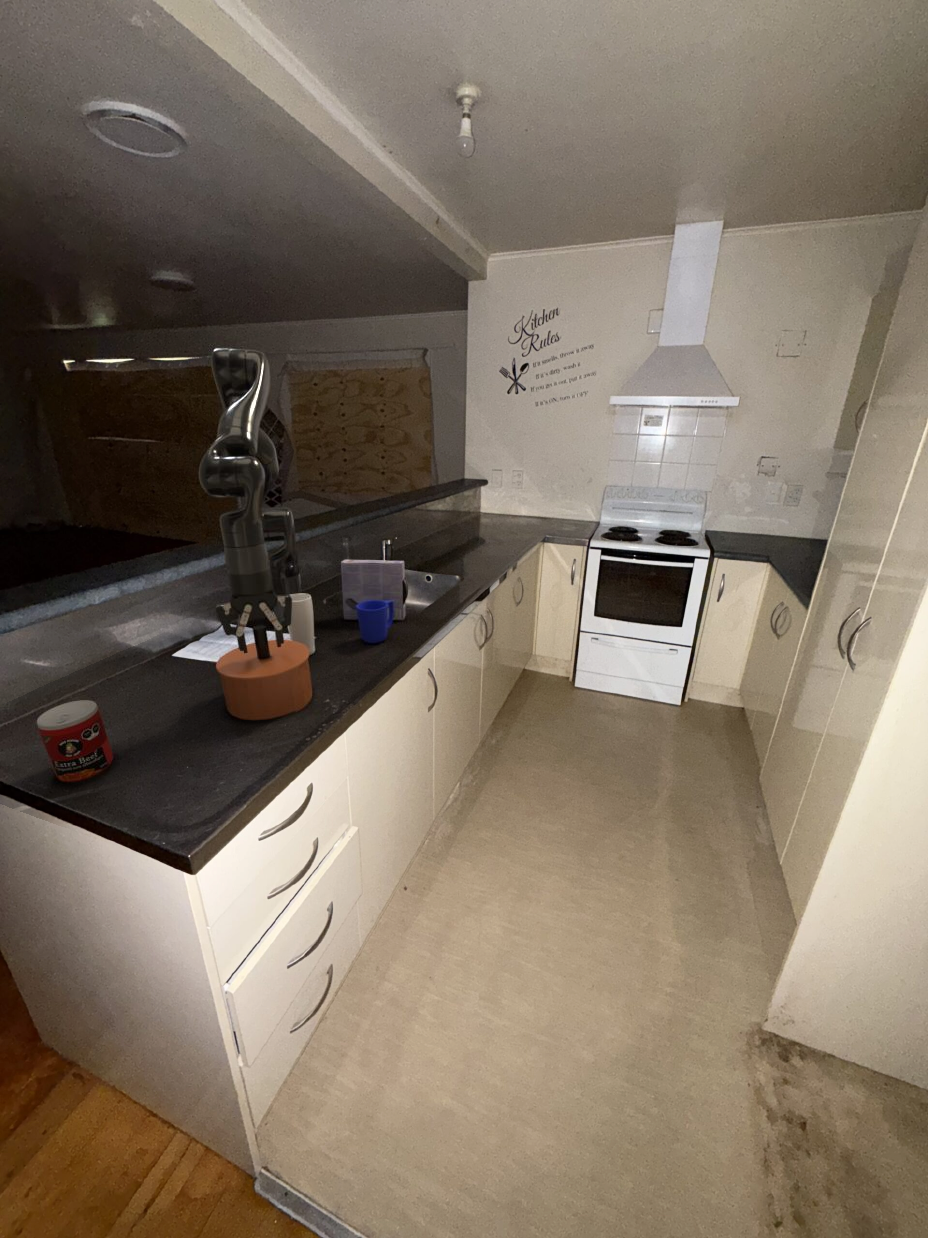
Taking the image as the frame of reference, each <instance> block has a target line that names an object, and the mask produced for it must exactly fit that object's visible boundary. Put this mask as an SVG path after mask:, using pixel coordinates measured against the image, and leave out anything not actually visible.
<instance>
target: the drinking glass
mask: <svg viewBox="0 0 928 1238" xmlns="http://www.w3.org/2000/svg"><path fill="white" fill-rule="evenodd" d="M290 596H291V598H292V614H291V624H290V625H289V626H287V630H288V634H289V639H290V641H296V642H299V643H302V644H304V645H306V646H307V647H308V649H309V652H310V655H309V656H312V655H313V654H315V652H316V645H315V644H316V643H315V620H314V619H315V618H314V614H315V613H314V605H313V599H312V596H311V594H309V593H304V592H302V593H297V594H291V595H290Z"/></svg>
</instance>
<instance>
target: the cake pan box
mask: <svg viewBox="0 0 928 1238" xmlns="http://www.w3.org/2000/svg"><path fill="white" fill-rule="evenodd" d="M340 572H341V592H342V609H343V610H342V612H343V619H344V621H346V620H347V621H348V620H352V621H353V620H355V621H356V620H358V615H357V609H356V605H357V604H358V603H360V602H363V601H368V600H381V601H387V600H392V601H393V603H394V610H393V621H405V618H406V615H407V613H406V611H407V610H406V601H407V598H408V596H409V584H408V581H407V579H406V575H405V573H406V572H405V561H404V560H382V559H381V560H378V559H343V560H341V561H340ZM388 620H389V604H388ZM388 620H387V621H388Z"/></svg>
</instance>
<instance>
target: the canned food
mask: <svg viewBox="0 0 928 1238" xmlns="http://www.w3.org/2000/svg"><path fill="white" fill-rule="evenodd" d="M36 725H37V729H38V732H39V735H40V738H41V740H42V742H43V745H44V748H45V750H46V752H47V755H48V758H49V760H50V763H51V766H52V769H53V771H54V773H55V776H56V778H57V779H58V781H60V782H62V783H63V782H64V783H76V782H81V781H85V780H87V779H90V778H93V777H95V776H97V775H99V774H100V773H102V772H104V771H105V770H106V769H108V767H110V765H111V764H112V763H113V760H114V754H113V751H112V748H111V744H110V742H109V738H108V734H107V731H106V728H105V725H104V721H103V719H102V715H101V712H100V709H99V706H98V705H97V703H96V702H95V701H94V700H90V699H81V700H73V701H70V702H69V701H68V702H65V703H62V704H59V705H57V706H55V707H52V708H50V709H48V710H46V711H45V712H43V713H42V714H41V715H39V717H38V718H37V719H36Z"/></svg>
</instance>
